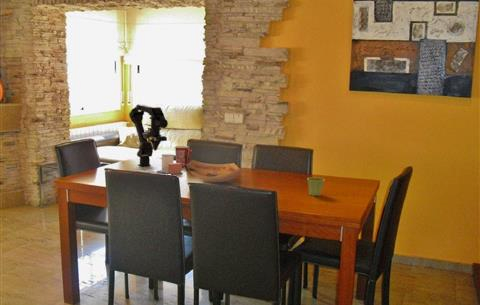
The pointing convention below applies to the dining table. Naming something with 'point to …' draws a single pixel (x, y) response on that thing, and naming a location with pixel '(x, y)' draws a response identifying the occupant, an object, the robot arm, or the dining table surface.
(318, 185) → the plant pot
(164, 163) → the pale beige block
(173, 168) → the housing
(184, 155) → the mug
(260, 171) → the dining table surface
